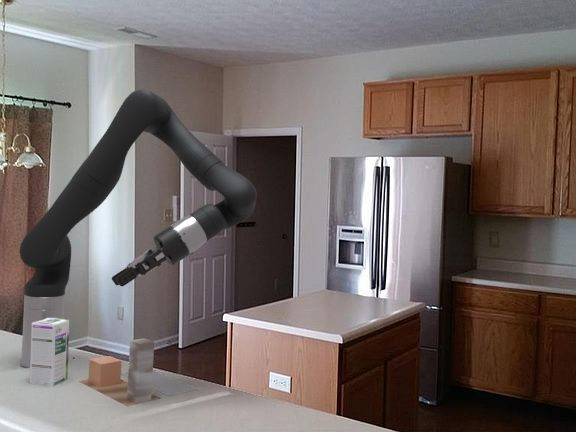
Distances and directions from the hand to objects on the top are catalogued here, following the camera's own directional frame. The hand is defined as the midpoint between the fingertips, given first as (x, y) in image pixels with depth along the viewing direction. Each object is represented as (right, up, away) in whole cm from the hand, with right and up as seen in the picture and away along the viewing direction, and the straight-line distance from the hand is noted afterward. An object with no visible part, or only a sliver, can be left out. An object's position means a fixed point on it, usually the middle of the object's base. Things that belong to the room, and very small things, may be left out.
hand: (115, 282), depth 122 cm
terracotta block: (-5, -23, +8) cm, 25 cm away
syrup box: (-17, -24, +7) cm, 30 cm away
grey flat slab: (+6, -25, +12) cm, 28 cm away
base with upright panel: (-1, -24, +4) cm, 25 cm away
